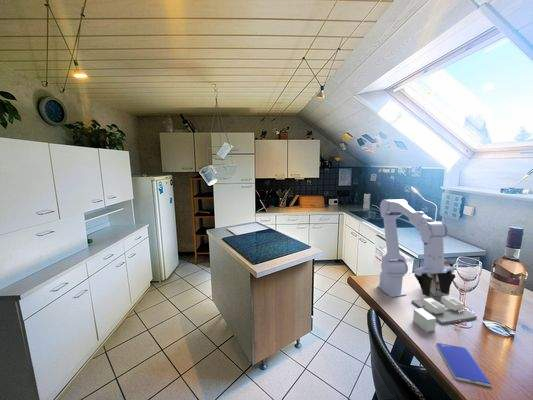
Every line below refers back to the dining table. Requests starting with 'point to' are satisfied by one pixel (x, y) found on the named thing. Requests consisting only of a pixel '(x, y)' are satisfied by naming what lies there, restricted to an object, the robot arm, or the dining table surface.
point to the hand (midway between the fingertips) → (435, 294)
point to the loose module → (424, 319)
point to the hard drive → (462, 364)
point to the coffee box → (435, 282)
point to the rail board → (446, 314)
